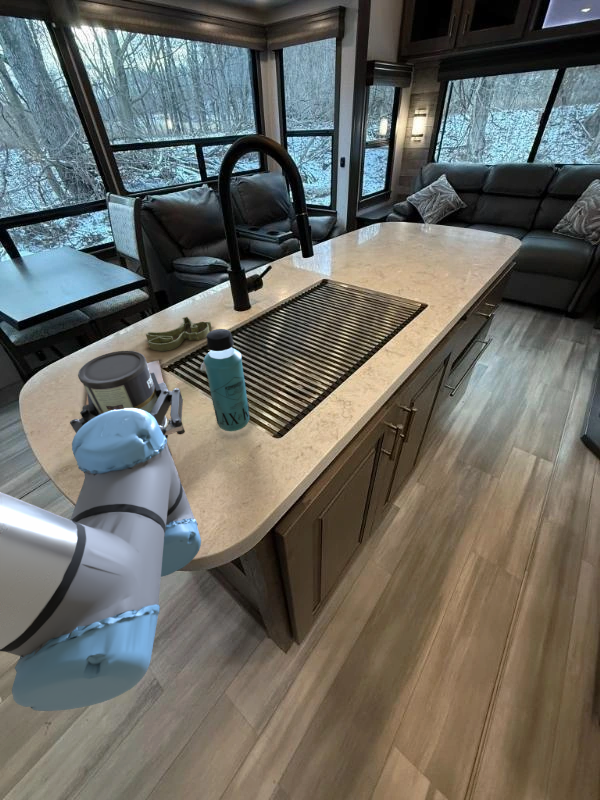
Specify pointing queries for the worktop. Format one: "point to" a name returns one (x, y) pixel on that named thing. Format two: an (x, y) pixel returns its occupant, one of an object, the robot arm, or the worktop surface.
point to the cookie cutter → (165, 339)
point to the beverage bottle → (226, 381)
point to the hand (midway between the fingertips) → (124, 387)
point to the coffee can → (119, 382)
